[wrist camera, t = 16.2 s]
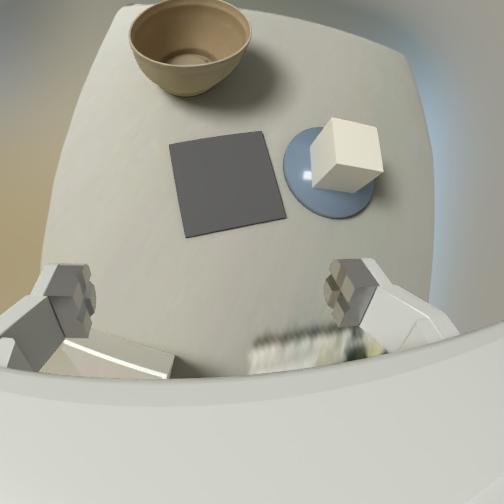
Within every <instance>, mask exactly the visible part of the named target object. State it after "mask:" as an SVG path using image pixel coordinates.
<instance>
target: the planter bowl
mask: <svg viewBox="0 0 504 504" xmlns="http://www.w3.org/2000/svg"><path fill="white" fill-rule="evenodd" d="M251 35H252V28H251V24H250V22H249V20H248V18H247V17H246V16H245V15H244V14H243V13H242V12H241V11H240V10H239V9H237V8H236V7H234V6H233V5H231V4H229V3H227V2H224V1H222V0H165V1H162V2H160V3H157V4H155V5H153V6H151V7H149V8H147V9H146V10H144V11H143V12H142V13H140V14H139V15H138V16H137V17H136V18H135V20H134V21H133V23H132V24H131V27H130V29H129V42H130V46H131V48H132V50H133V53H134V56H135V59H136V61H137V63H138V65H139V67H140V68H141V70H142V71H143V72H144V74H145V75H146V76H147V77H148V78H149V79H150V80H152V81H153V82H154V83H156V84H157V85H159V86H161V87H162V88H163V89H164V90H165V91H167V92H168V93H170V94H173V95H177V96H184V97H186V96H195V95H199V94H202V93H204V92H206V91H208V90H209V89H211V88H212V87H213V86H214V85H215V84H217V83H219V82H220V81H222V80H223V79H224V78H225V77H227V76H228V75H229V74H230V73H231V72H232V71H233V70H234V68H235V67H236V66H237V64H238V63H239V61H240V60H241V58H242V56H243V54H244V51H245V49H246V47H247V46H248V44H249V42H250V39H251Z"/></svg>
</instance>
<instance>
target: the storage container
mask: <svg viewBox="0 0 504 504" xmlns="http://www.w3.org/2000/svg"><path fill="white" fill-rule="evenodd" d="M67 345H70V346H72V347H75V348H77V349H80V350H82V351H85V352H88V353H90V354H93V355H96V356H98V357H101V358H104V359H107V360H109V361H112V362H115V363H118V364H121V365H124V366H127V367H130V368H133V369H136V370H139V371H143V372H146V373H149V374H153V375H156V376H159V377H162V379H170V374H171V370H172V366H173V362H174V357H175V355H173V354H170V353H166V352H163V351H159V350H156V349H153V348H149V347H146V346H143V345H140V344H137V343H133V342H130V341H127V340H124V339H121V338H118V337H115V336H112V335H110V334H107V333H104V332H101V331H98V330H96V329H93V328H91V329H90V333H89V337H88V338H65V340H64V342H63V343H62V344H61V345H60V346H59V347H58V348H61V347H64V346H67Z"/></svg>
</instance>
